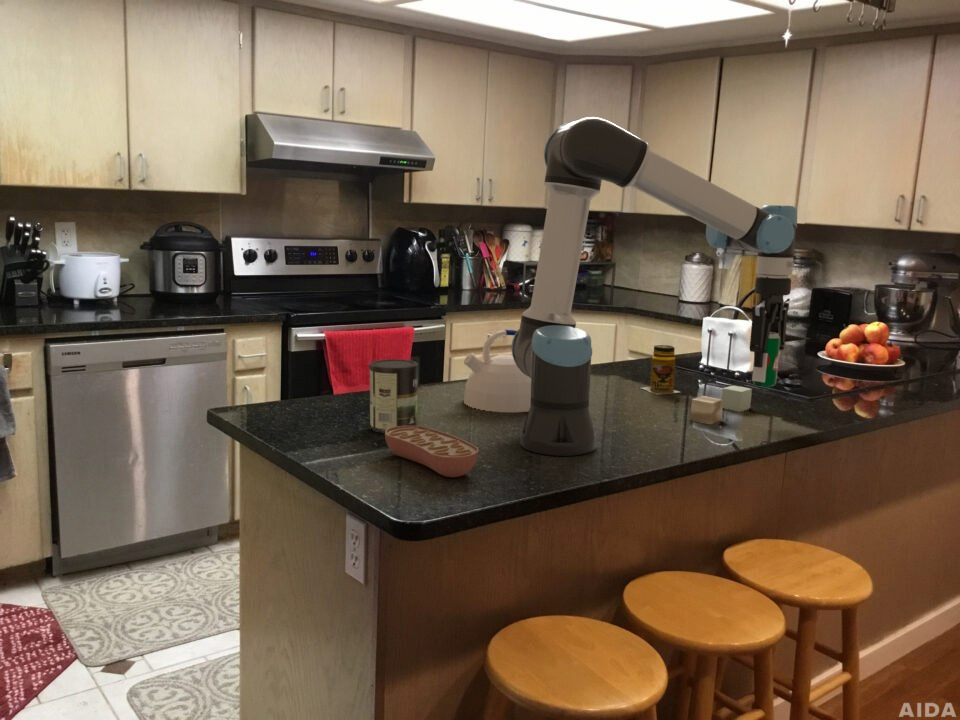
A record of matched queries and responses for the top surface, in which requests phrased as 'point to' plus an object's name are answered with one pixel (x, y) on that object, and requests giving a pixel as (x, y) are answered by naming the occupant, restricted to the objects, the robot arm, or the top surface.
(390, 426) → the coffee can
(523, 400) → the kettle
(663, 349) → the condiment
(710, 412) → the maple block
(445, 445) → the anatomical model
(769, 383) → the soda can
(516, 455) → the top surface
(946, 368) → the top surface
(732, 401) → the sage block
